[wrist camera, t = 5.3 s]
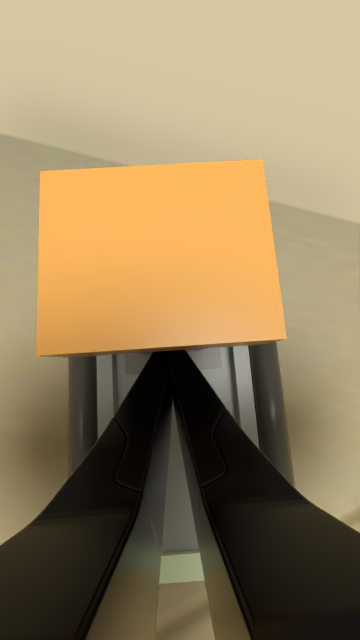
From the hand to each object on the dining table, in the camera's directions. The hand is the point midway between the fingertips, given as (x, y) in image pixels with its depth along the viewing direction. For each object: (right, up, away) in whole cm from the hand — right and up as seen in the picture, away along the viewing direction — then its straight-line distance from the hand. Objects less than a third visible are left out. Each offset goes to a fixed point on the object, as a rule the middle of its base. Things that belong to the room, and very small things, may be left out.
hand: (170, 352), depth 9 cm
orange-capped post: (0, +1, +5) cm, 5 cm away
